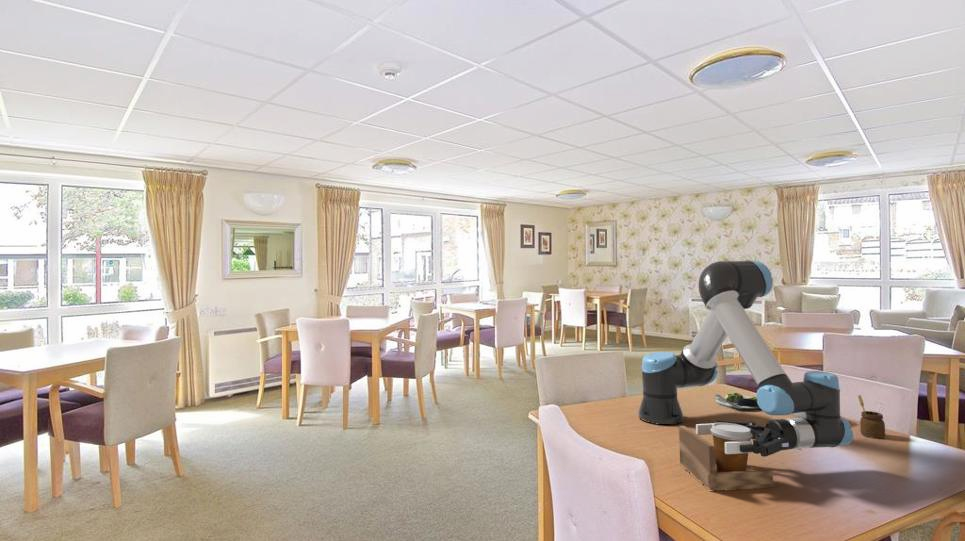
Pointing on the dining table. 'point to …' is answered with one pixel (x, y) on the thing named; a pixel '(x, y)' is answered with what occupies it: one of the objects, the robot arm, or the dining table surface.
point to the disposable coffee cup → (729, 434)
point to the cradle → (702, 465)
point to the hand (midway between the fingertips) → (710, 438)
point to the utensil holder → (871, 422)
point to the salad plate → (739, 402)
